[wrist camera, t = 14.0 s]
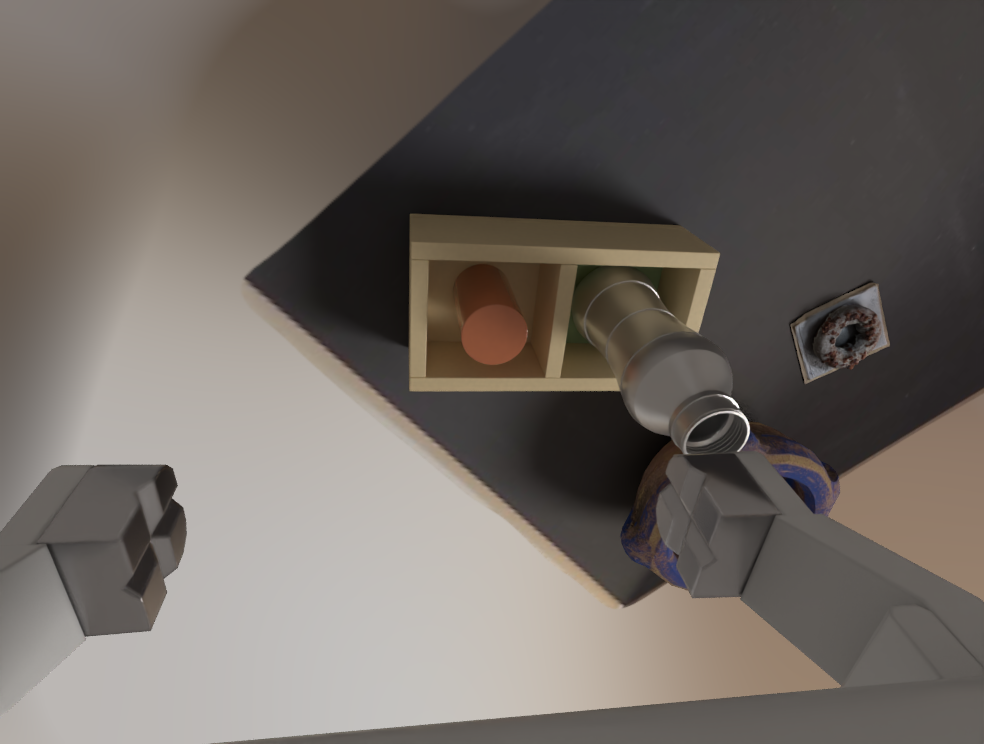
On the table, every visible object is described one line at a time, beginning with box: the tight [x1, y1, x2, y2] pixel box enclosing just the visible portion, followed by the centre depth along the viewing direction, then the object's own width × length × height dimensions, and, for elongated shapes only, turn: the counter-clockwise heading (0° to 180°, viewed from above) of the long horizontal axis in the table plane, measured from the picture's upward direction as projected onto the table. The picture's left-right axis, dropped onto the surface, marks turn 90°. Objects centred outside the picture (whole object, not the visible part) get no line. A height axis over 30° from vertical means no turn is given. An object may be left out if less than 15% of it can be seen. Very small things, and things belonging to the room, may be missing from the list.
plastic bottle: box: [571, 265, 750, 454], centre depth 39 cm, size 6×7×20 cm
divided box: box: [409, 214, 720, 391], centre depth 45 cm, size 11×22×7 cm, turn 86°
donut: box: [790, 283, 890, 384], centre depth 53 cm, size 8×8×2 cm
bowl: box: [621, 422, 840, 590], centre depth 56 cm, size 18×18×10 cm
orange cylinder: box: [453, 264, 528, 365], centre depth 43 cm, size 5×5×8 cm
